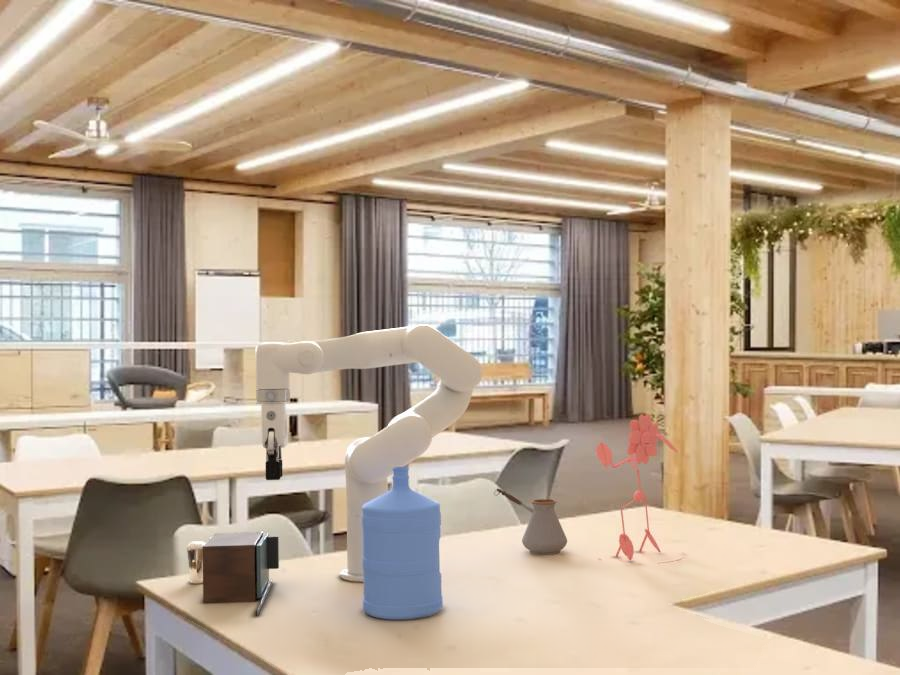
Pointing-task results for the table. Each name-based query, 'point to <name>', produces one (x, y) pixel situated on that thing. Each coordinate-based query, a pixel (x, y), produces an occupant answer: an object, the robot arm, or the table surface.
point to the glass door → (266, 560)
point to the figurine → (642, 446)
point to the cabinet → (231, 568)
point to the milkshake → (195, 561)
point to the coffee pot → (541, 527)
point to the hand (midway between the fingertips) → (274, 477)
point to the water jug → (401, 553)
